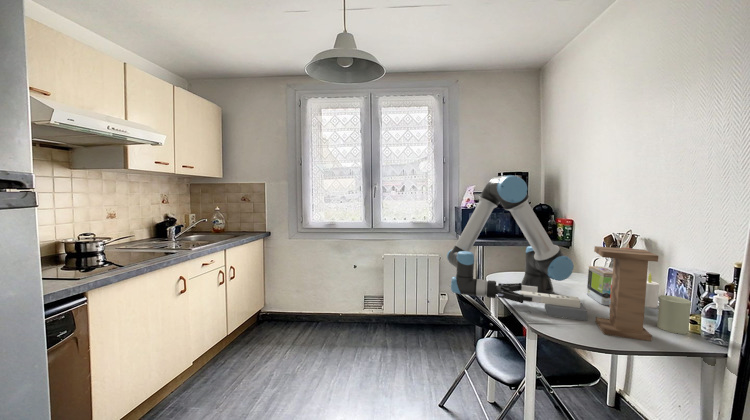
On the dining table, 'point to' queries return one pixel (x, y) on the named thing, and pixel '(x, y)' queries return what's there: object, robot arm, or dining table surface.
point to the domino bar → (556, 299)
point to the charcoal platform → (567, 311)
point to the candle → (651, 293)
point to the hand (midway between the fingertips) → (539, 294)
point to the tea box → (600, 284)
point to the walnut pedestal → (627, 292)
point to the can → (674, 314)
